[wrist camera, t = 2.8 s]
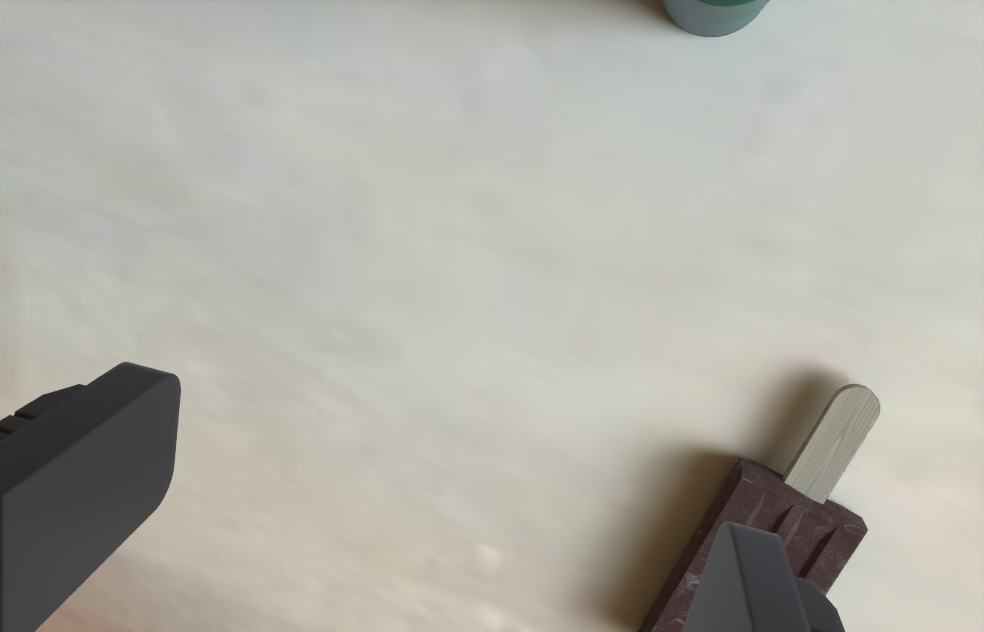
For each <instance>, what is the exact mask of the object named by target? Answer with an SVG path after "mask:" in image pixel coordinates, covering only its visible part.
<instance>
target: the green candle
mask: <svg viewBox="0 0 984 632" xmlns="http://www.w3.org/2000/svg"><path fill="white" fill-rule="evenodd" d="M768 1H769V0H662V3H663V5H664V8H665V10H666V11H667V13H668V15H669V16H670V17H671V19H672V20H673V21H674V22H675V23H676V24H677V25H678V26H680V27H681V28H682V29H684V30H686V31H688V32H690V33H692V34H695V35H698V36H703V37H719V36H724V35H728V34H731V33H734V32H736V31H738V30H740V29H741V28H743V27H744V26H746V25H747V24H749V23H750V22H751V21H752V20H753V19H754V18H755V17H756V16H757V15H758V14H759V13H760V11H761V10H762V9H763V8H764V6H765V5H766V4H767V3H768Z"/></svg>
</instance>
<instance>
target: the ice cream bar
mask: <svg viewBox="0 0 984 632" xmlns="http://www.w3.org/2000/svg"><path fill="white" fill-rule="evenodd" d="M879 413H880V404H879V400H878V398H877V397H876V396H875V394H874V393H873V392H872V391H871V390H870V389H869V388H867V387H866V386H863V385H860V384H849V385H845V386H843V387H841V388H840V389H838V390H837V391H836V392H835V393H834V395H833V396H832V398H831V399H830V401H829V403H828V404H827V406H826V407H825V409H824V411H823V412H822V414H821V416H820V417H819V419H818V421H817V422H816V424H815V426H814V427H813V429H812V431H811V432H810V434H809V436H808V437H807V439H806V440H805V442H804V444H803V445H802V447H801V449H800V450H799V452H798V454H797V455H796V457H795V459H794V460H793V462H792V464H791V465H790V467H789V468H788V470H787V472H786V473H785V475H784V476H782V475H780V474H778V473H777V472H775V471H773V470H771V469H769V468H767V467H765V466H762V465H759V464H757V463H754V462H751V461H748V460H745V459H743V458H739V459H738V460H737V462H736V464H735V466H734V467H733V469H732V471H731V472H730V474H729V476H728V478H727V479H726V481H725V483H724V484H723V486H722V488H721V490H720V491H719V493H718V495H717V496H716V498H715V500H714V502H713V503H712V505H711V507H710V508H709V510H708V512H707V513H706V515H705V517H704V519H703V520H702V522H701V524H700V525H699V527H698V529H697V531H696V532H695V534H694V536H693V537H692V539H691V541H690V543H689V544H688V546H687V548H686V549H685V551H684V553H683V555H682V556H681V558H680V560H679V561H678V563H677V565H676V567H675V568H674V570H673V572H672V573H671V575H670V577H669V578H668V580H667V582H666V584H665V585H664V587H663V589H662V590H661V592H660V594H659V596H658V597H657V599H656V601H655V602H654V604H653V606H652V608H651V609H650V611H649V613H648V614H647V616H646V618H645V620H644V621H643V623H642V625H641V626H640V628H639V630H638V632H684V630H685V625H686V620H687V616H688V613H689V609H690V606H691V604H692V601H693V598H694V595H695V592H696V590H697V587H698V584H699V581H700V578H701V575H702V573H703V570H704V567H705V564H706V561H707V559H708V556H709V553H710V550H711V547H712V545H713V542H714V539H715V536H716V534H717V531H718V529H719V527H720V526H721V524H722V523H723V522H724V521H729V522H733V523H737V524H741V525H744V526H748V527H752V528H756V529H760V530H763V531H767V532H771V533H775V534H778V535H779V536H780V537H781V539H782V541H783V544H784V548H785V551H786V554H787V557H788V560H789V563H790V566H791V570H792V573H793V576H797V577H800V578H804V579H808V580H812V581H813V582H814V583H815V585H816V586H817V587H818V588H819V589H820V591H821V592H822V593H823V594H824V595H826V594H827V592H828V591H829V589H830V588H831V586H832V585H833V583H834V582H835V580H836V579H837V577H838V576H839V574H840V573H841V571H842V570H843V568H844V566H845V565H846V563H847V562H848V560H849V559H850V557H851V556H852V554H853V553H854V551H855V550H856V548H857V547H858V545H859V544H860V542H861V541H862V539H863V537H864V536H865V534H866V533H867V530H868V529H867V527H866V525H865V523H864V521H863V519H862V517H860V516H858V515H856V514H855V513H853V512H851V511H849V510H848V509H846V508H844V507H842V506H840V505H839V504H836V503H834V502H832V501H829V500H827V498H828V496H829V494H830V493H831V491H832V490H833V488H834V487H835V485H836V483H837V482H838V480H839V479H840V477H841V475H842V474H843V472H844V471H845V469H846V467H847V466H848V464H849V463H850V461H851V460H852V458H853V456H854V455H855V453H856V452H857V450H858V448H859V447H860V445H861V444H862V442H863V440H864V439H865V437H866V436H867V434H868V433H869V431H870V429H871V428H872V426H873V425H874V423H875V421H876V420H877V418H878V416H879Z"/></svg>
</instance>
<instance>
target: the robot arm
mask: <svg viewBox="0 0 984 632" xmlns="http://www.w3.org/2000/svg"><path fill="white" fill-rule="evenodd" d="M180 395H181V386H180V381H179V378H178V377H177V376H176V375H175V374H172V373H168V372H164V371H160V370H156V369H153V368H149V367H145V366H141V365H137V364H134V363H130V362H123V363H121V364H119V365H117V366H116V367H114V368H113V369H111V370H109V371H108V372H106V373H105V374H103V375H102V376H100V377H99V378H97V379H95V380H94V381H92V382H91V383H89V384H88V385H86V386H85V385H81V384H78V385H75V386H71V387H68V388H65V389H61V390H58V391H54V392H51V393H48V394H44V395H42V396H40V397H38V398H37V399H35V400H34V401H32V402H30V403H29V404H27V405H25V406H24V407H22V408H20V409H19V410H17V411H15V414H14V416H12V415H9V416H7V417H6V418H4V419H2V420H1V421H0V632H34V631H35V630H36V629H37V628H38V627H39V626H40V625H41V624H42V623H43V622H44V621H45V620H46V619H47V618H48V617H49V616H50V615H51V614H52V613H53V612H54V611H55V610H56V609H57V608H58V607H59V606H60V605H61V604H62V603H63V602H64V601H65V600H66V599H67V598H68V597H69V596H70V595H71V594H72V593H73V592H74V591H75V590H76V589H77V588H78V587H79V586H80V585H81V584H82V583H83V582H84V581H85V580H86V579H87V578H88V577H89V576H90V575H91V574H92V573H93V572H94V571H95V570H96V569H97V568H98V567H99V566H100V565H101V564H102V563H103V562H104V561H105V560H106V559H107V558H108V557H109V556H110V555H111V554H112V553H113V552H114V551H115V550H116V549H117V548H118V547H119V546H120V545H121V544H122V543H123V542H124V541H125V540H126V539H127V538H128V537H129V536H130V535H131V534H132V533H133V532H134V531H135V530H136V529H137V528H138V527H139V526H140V525H141V524H142V523H143V522H144V521H145V520H146V519H147V518H148V517H149V516H150V515H151V514H152V513H153V512H154V511H155V510H156V509H157V508H158V506H159V505H160V503H161V502H162V500H163V499H164V497H165V495H166V493H167V490H168V488H169V485H170V483H171V479H172V476H173V471H174V463H175V451H176V440H177V429H178V417H179V406H180ZM684 632H845V630H844V627H843V625H842V622H841V619H840V617H839V614H838V611H837V609H836V608H835V607H834V606H833V605H832V603H831V602H830V601H829V600H828V599H827V598H826V596H825V595H824V594H823V593H822V592H821V591H820V589H819V588H818V587H817V586H816V585H815V583H814V582H813V581H812V580H808V579H804V578H800V577H797V576H793V573H792V570H791V566H790V563H789V560H788V557H787V554H786V551H785V548H784V544H783V541H782V539H781V537H780V536H779V535H778V534H775V533H771V532H767V531H763V530H760V529H756V528H752V527H748V526H744V525H741V524H737V523H733V522H729V521H724V522H723V523H722V524H721V526H720V527H719V529H718V531H717V534H716V536H715V539H714V542H713V545H712V547H711V550H710V553H709V556H708V559H707V561H706V564H705V567H704V570H703V573H702V575H701V578H700V581H699V584H698V587H697V590H696V592H695V595H694V598H693V601H692V604H691V606H690V609H689V613H688V616H687V620H686V625H685V630H684Z"/></svg>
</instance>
